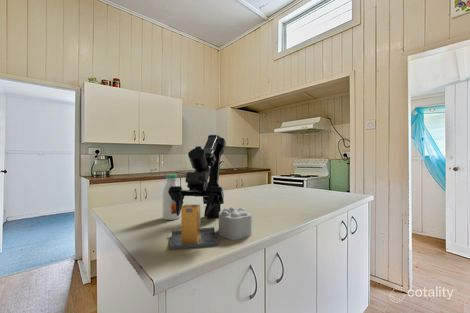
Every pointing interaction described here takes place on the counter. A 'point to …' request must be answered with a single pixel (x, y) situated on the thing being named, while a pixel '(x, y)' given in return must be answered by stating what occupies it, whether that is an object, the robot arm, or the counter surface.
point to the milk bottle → (169, 199)
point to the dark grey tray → (206, 240)
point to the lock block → (190, 223)
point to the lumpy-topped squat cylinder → (234, 223)
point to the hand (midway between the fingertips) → (191, 215)
